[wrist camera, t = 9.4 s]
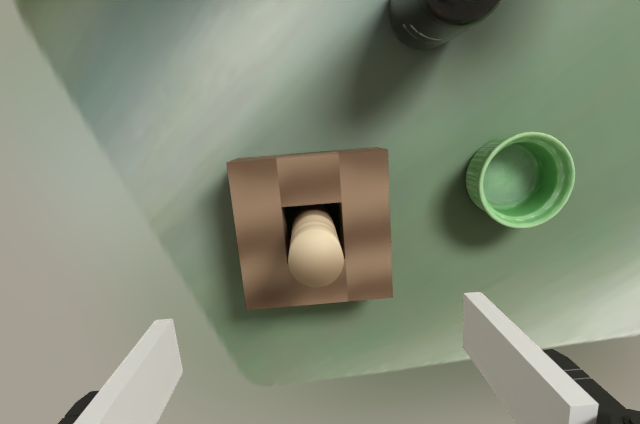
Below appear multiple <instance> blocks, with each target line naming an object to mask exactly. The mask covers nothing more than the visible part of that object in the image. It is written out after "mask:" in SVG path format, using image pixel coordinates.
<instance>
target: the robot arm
mask: <svg viewBox="0 0 640 424" xmlns="http://www.w3.org/2000/svg"><path fill="white" fill-rule="evenodd" d="M463 348H464V350H465V351H466V352H467V354H468V355H469V357H470V358H471V359H472V361H473V362H474V364H475V365H476V366H477V368H478V369H479V371H480V372H481V374H482V375H483V376H484V378H485V379H486V381H487V382H488V383H489V385H490V386H491V388H492V389H493V390H494V392H495V393H496V395H497V396H498V397H499V399H500V400H501V402H502V403H503V405H504V406H505V407H506V409H507V410H508V412H509V413H510V415H511V416H512V417H513V419H514V420H515V421H516V423H517V424H640V411H635V410H631V409H626V408H625V407H623V406H622V405H621V404H620V403H619V402H618V401H617V400H616V399H614V398H613V397H612V396H611V395H610V394H609V393H608V392H607V391H605V390H604V389H603V388H602V387H601V386H600V385H598V384H597V383H596V382H595V381H594V380H593V379H590V377H589V376H588V375H587V374H586V373H585V372H584V371H583V370H580V368H579V367H578V366H577V365H576V364H575V363H574V362H573V361H571V360H570V359H569V358H568V357H566V356H564V355H562V354H560V353H559V352H557V351H555V350H553V349H548V350H541V349H540V348H539V347H538V346H537V345H536V344H535V343H534V342H533V341H532V340H531V339H530V338H529V337H528V336H527V335H525V334H524V333H523V332H522V331H521V330H520V329H519V328H518V327H517V326H516V325H515V324H514V323H513V322H512V321H511V320H510V319H509V318H508V317H506V316H505V315H504V314H503V313H502V312H501V311H500V310H499V309H498V308H497V307H496V306H495V305H494V304H493V303H492V302H491V301H490V300H489V299H488V298H486V297H485V296H484V295H483V294H482V293H481V292H474V293H464V308H463ZM182 373H183V369H182V364H181V359H180V354H179V349H178V344H177V338H176V334H175V328H174V323H173V319H164V320H155V321H154V323H153V324H152V325H151V327H150V328H149V329H148V330H147V331H146V333H145V334H144V335H143V337H142V338H141V339H140V340H139V342H138V343H137V344H136V345H135V347H134V348H133V349H132V350H131V352H130V353H129V354H128V355H127V357H126V358H125V359H124V361H123V362H122V363H121V365H120V366H119V367H118V368H117V369H116V371H115V372H114V373H113V374H112V376H111V377H110V378H109V379H108V381H107V382H106V383H105V385H104V386H103V387H102V388H101V390H100V391H91V392H89V393H88V394H87V395H85V396H84V397H83V398H81V399H80V400H79V401H78V402H76V403H75V404H74V405H73V407H72V408H71V409H70V410H69V411H68V413H67V414H66V415H65V418H63V419H62V420H61V421H60V422H59V423H58V424H157V422H158V420H159V418H160V416H161V414H162V412H163V410H164V408H165V406H166V404H167V402H168V400H169V398H170V396H171V395H172V392H173V391H174V389H175V387H176V385H177V383H178V381H179V379H180V377H181V375H182Z"/></svg>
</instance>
